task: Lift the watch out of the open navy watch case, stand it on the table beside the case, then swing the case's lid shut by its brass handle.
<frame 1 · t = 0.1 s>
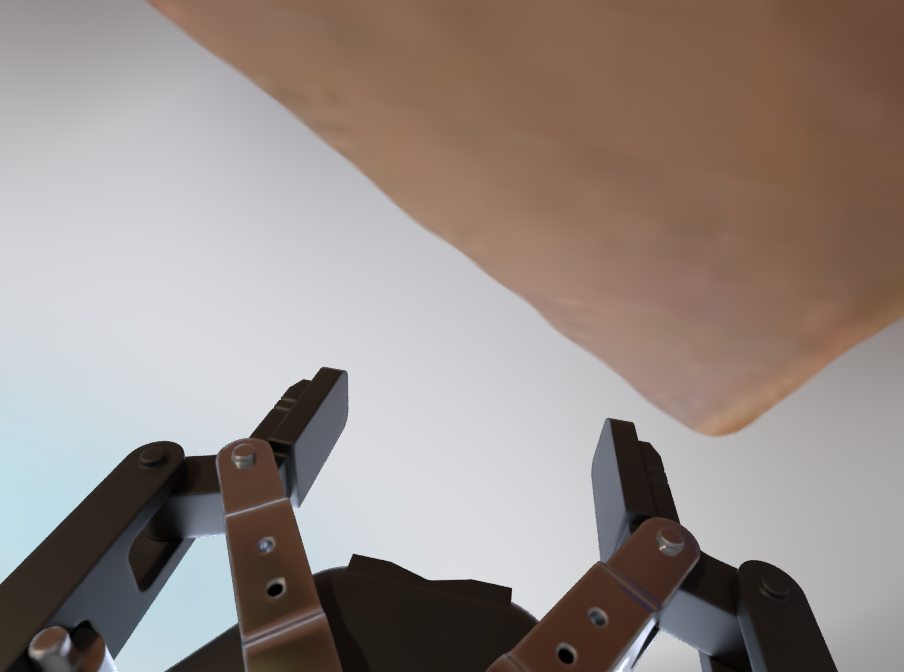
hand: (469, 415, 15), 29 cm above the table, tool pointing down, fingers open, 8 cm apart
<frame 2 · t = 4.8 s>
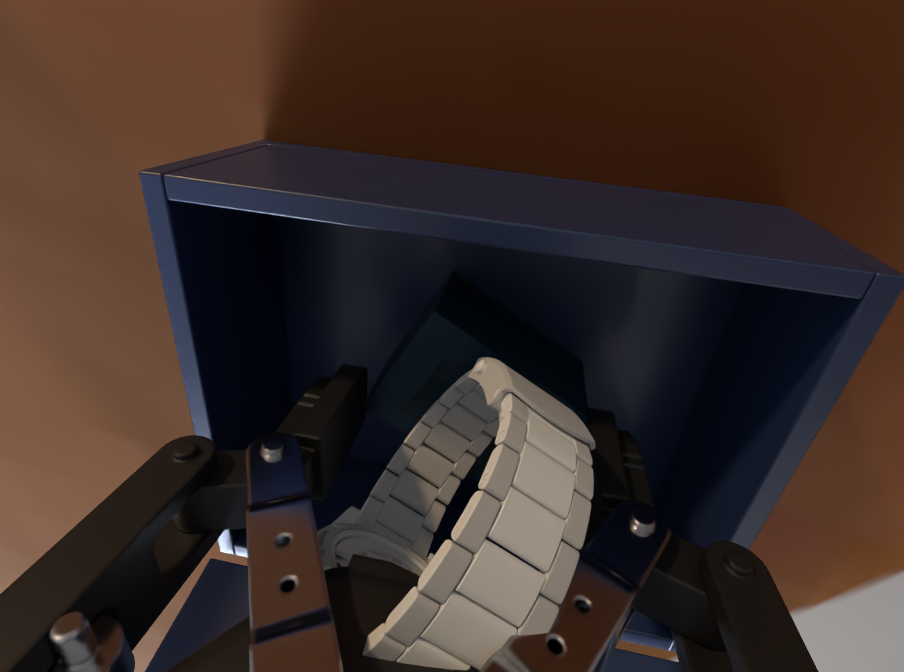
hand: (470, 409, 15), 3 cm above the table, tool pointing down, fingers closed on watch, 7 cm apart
watch: (482, 359, 18), resting on watch case, touching gripper
watch case: (483, 353, 18), on the table
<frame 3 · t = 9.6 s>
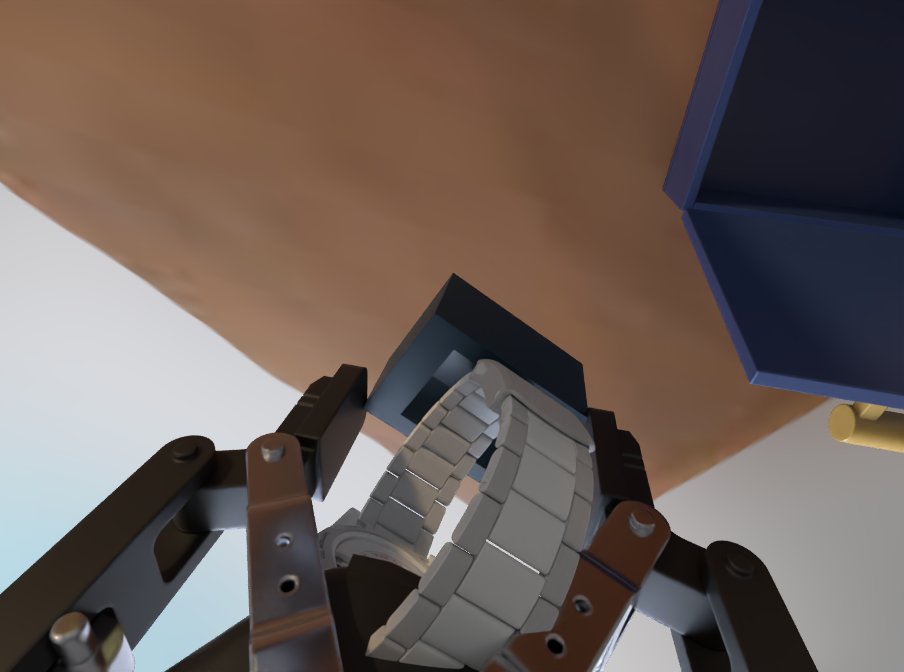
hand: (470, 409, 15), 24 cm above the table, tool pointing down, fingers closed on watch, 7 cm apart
lid: (871, 336, 23), point 13 cm above the table, hinge at 100.0°
watch: (482, 360, 18), point 21 cm above the table, touching gripper
watch case: (834, 97, 29), on the table
when the fingers open (3 cm above the table, at t = 14.7 s): watch stays where it is, on the table.
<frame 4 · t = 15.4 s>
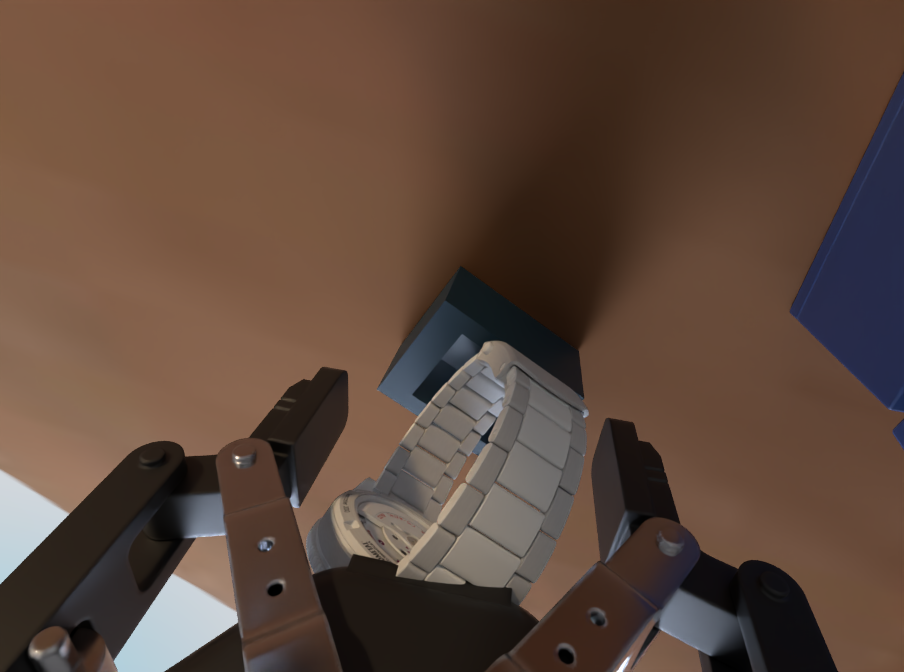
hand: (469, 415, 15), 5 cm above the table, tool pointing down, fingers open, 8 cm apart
watch: (486, 348, 19), on the table
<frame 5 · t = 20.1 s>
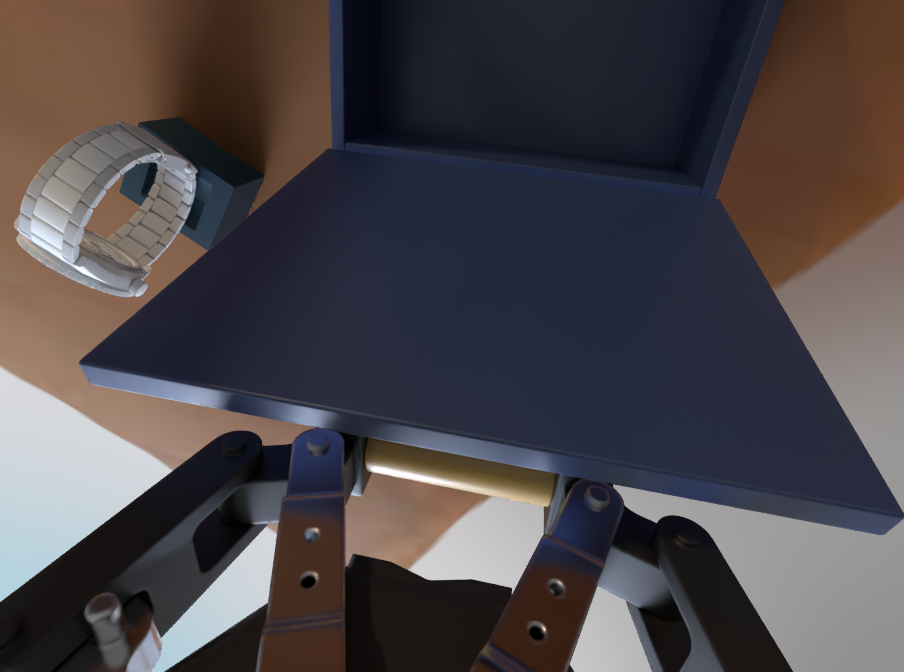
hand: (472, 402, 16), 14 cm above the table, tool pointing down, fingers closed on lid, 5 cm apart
lid: (488, 314, 16), point 13 cm above the table, hinge at 100.1°, touching gripper
watch: (212, 180, 29), on the table
watch case: (544, 6, 22), on the table
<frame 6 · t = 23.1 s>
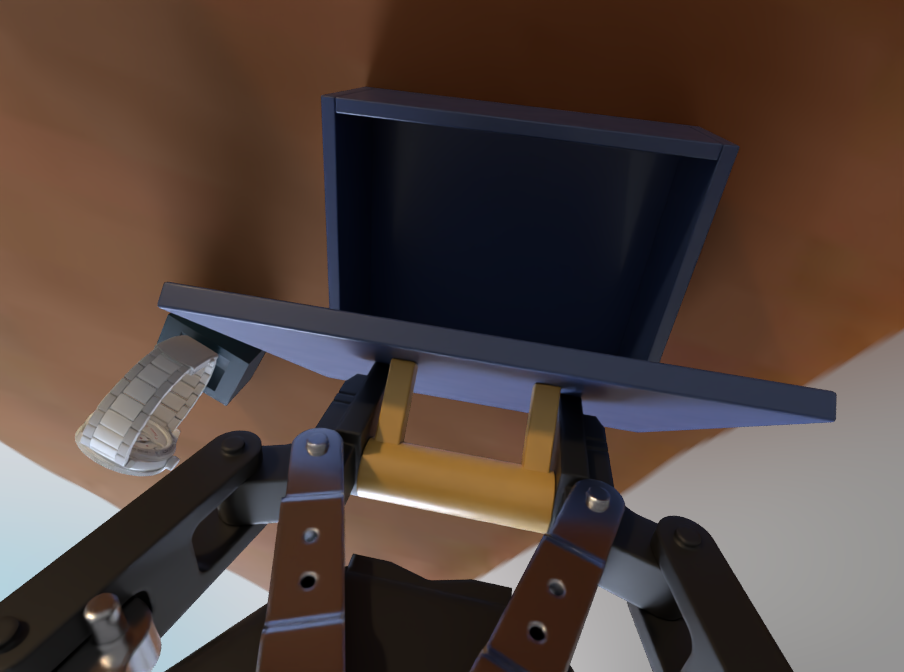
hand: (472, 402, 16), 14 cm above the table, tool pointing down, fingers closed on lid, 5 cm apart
lid: (469, 431, 18), point 12 cm above the table, hinge at 47.8°, touching gripper
watch: (227, 337, 34), on the table
watch case: (506, 237, 27), on the table
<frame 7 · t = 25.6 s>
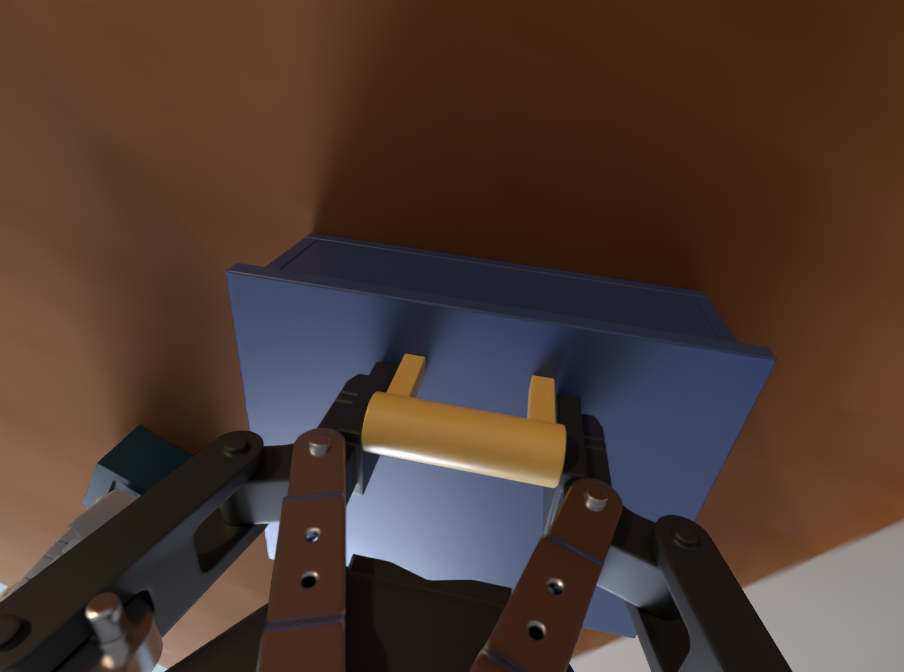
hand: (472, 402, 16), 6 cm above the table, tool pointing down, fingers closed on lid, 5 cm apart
lid: (454, 517, 16), point 8 cm above the table, hinge at -0.2°, touching gripper, watch case
watch: (174, 468, 30), on the table
watch case: (480, 390, 23), on the table
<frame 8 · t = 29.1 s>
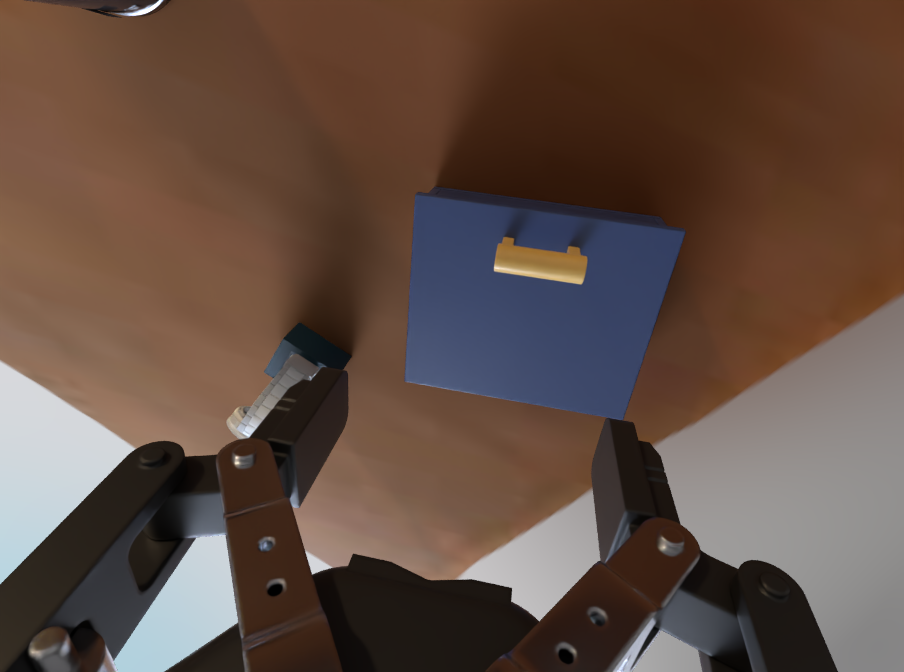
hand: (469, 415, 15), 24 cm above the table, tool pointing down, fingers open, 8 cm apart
lid: (526, 326, 31), point 8 cm above the table, hinge at -0.2°, touching watch case
watch: (316, 355, 45), on the table
watch case: (529, 285, 38), on the table
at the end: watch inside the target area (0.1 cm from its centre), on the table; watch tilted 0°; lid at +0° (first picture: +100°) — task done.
